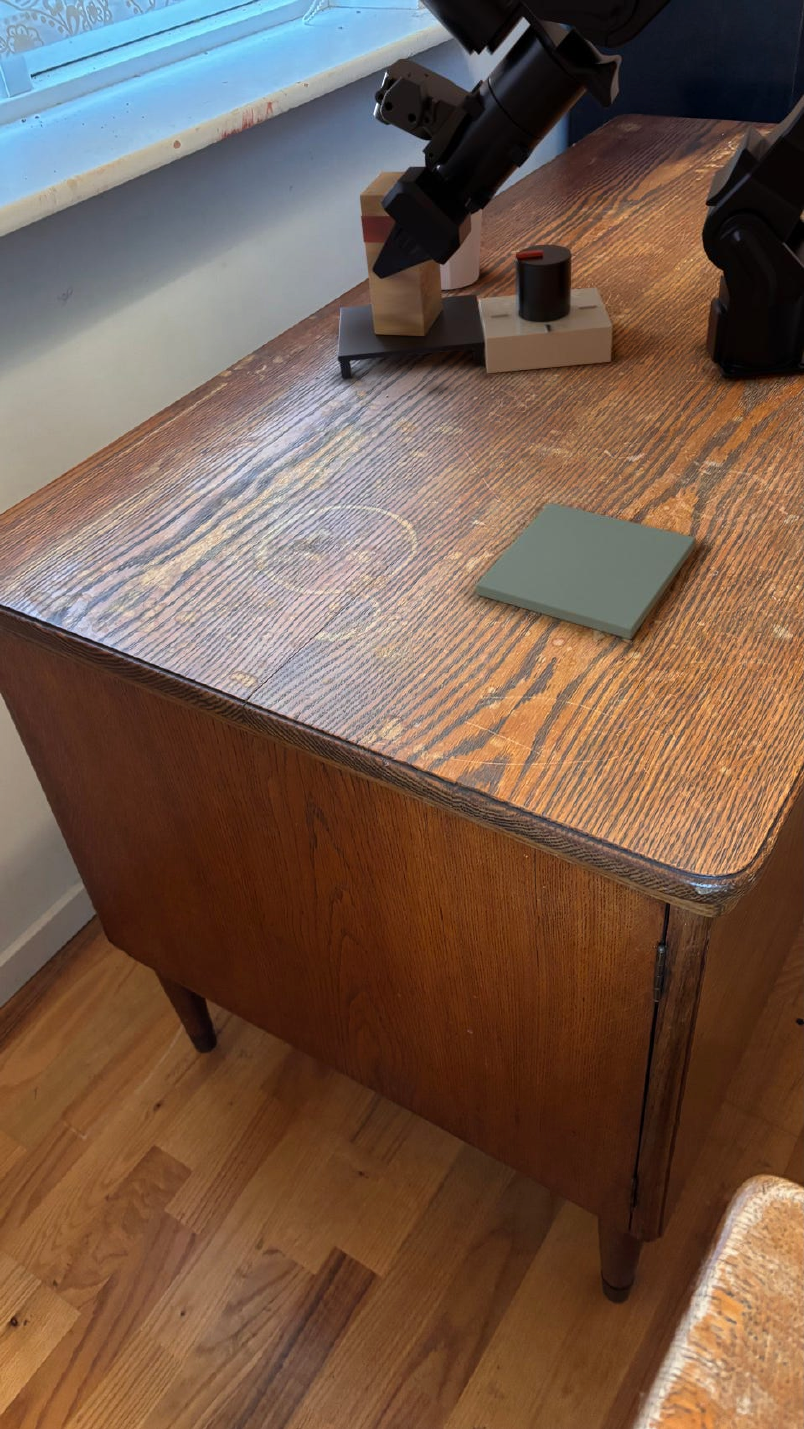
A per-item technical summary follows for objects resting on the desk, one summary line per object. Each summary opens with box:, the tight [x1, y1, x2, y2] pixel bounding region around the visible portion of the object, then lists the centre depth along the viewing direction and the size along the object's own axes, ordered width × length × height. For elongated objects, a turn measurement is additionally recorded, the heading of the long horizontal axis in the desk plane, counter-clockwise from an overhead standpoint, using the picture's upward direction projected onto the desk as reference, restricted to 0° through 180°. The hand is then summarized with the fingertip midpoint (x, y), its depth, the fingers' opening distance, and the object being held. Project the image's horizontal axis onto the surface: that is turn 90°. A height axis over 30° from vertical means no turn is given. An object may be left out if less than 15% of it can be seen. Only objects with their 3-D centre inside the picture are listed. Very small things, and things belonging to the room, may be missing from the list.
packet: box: [359, 171, 443, 336], centre depth 85 cm, size 4×6×11 cm
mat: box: [475, 502, 697, 640], centre depth 64 cm, size 10×10×1 cm
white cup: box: [440, 209, 483, 290], centre depth 98 cm, size 7×7×7 cm
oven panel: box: [478, 286, 614, 374], centre depth 87 cm, size 10×9×3 cm
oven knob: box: [514, 244, 572, 322], centre depth 84 cm, size 4×4×5 cm
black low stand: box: [337, 294, 485, 379], centre depth 89 cm, size 12×10×2 cm
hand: (387, 260), depth 86 cm, fingers closed on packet, 5 cm apart
